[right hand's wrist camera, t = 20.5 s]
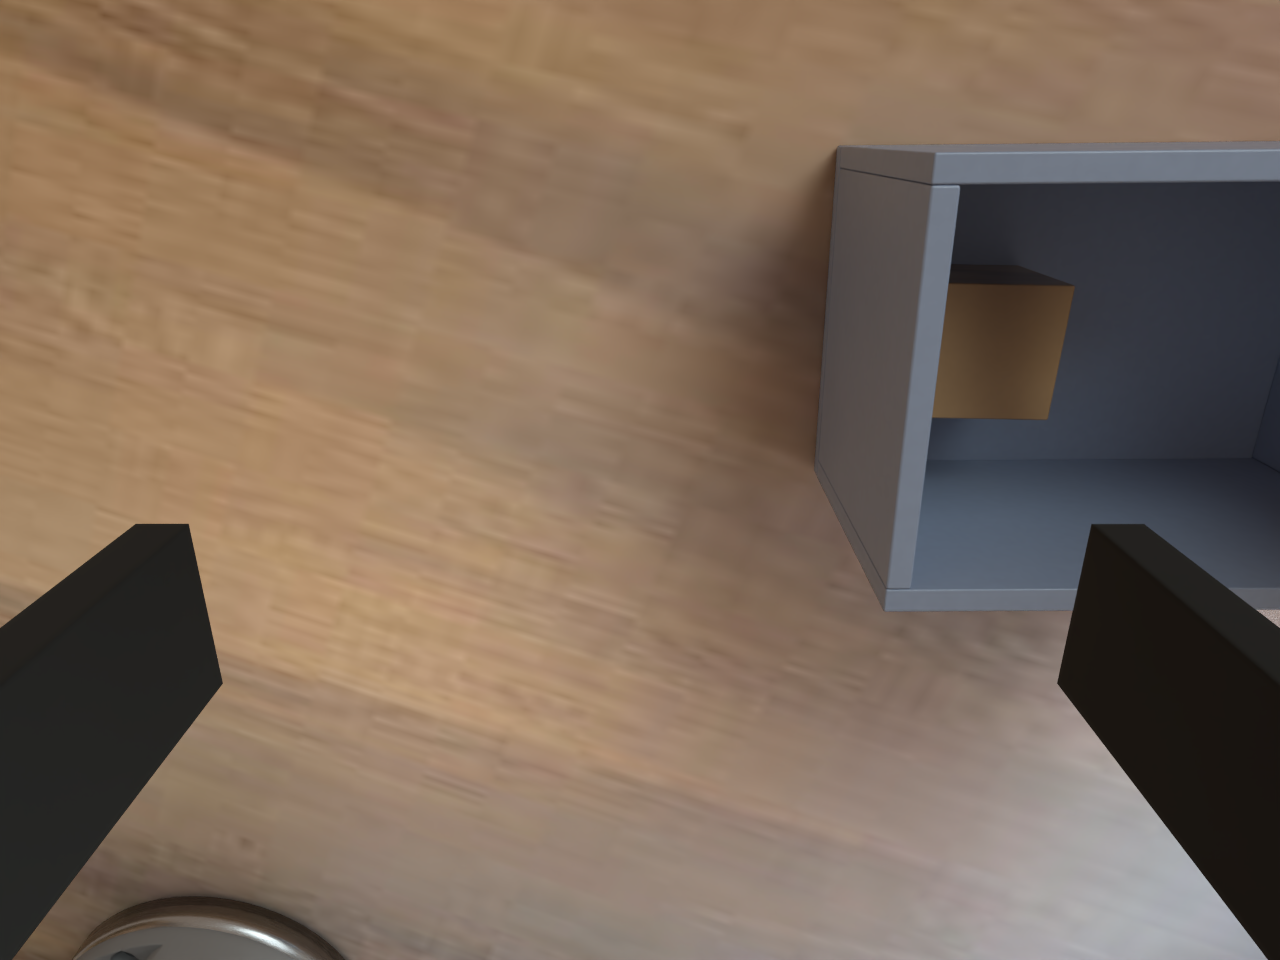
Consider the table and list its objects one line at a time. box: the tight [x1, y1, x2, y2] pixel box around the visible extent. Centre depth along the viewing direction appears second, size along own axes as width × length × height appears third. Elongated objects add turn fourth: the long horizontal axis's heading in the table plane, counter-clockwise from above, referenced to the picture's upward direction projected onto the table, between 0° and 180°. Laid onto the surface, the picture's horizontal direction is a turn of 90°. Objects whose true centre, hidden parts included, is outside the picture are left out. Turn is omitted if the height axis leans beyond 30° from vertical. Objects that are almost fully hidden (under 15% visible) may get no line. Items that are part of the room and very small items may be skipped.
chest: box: [814, 141, 1280, 611], centre depth 26 cm, size 17×12×11 cm
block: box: [932, 264, 1075, 420], centre depth 29 cm, size 4×4×4 cm
